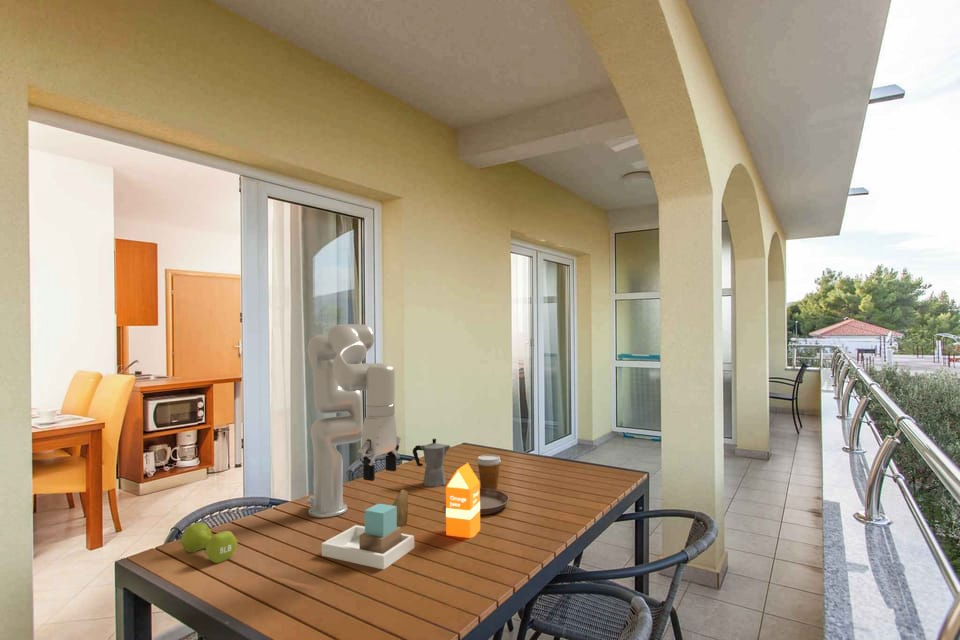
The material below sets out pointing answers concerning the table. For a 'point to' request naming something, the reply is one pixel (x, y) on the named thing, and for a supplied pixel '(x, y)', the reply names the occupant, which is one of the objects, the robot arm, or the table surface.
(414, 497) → the table surface
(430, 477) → the coffeepot
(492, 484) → the disposable coffee cup
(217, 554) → the dumbbell
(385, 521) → the teal box
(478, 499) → the orange juice
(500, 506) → the plant saucer
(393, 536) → the walnut block
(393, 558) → the white tray
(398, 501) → the rock
